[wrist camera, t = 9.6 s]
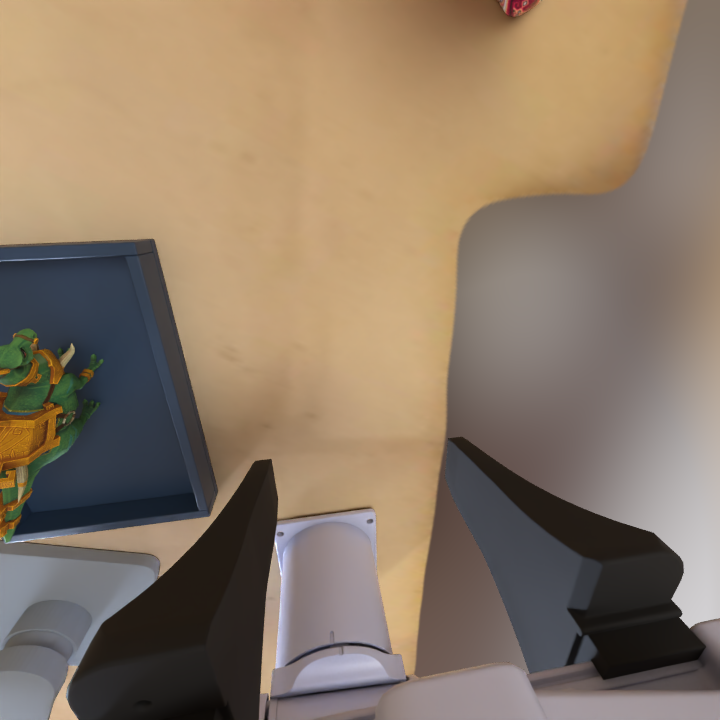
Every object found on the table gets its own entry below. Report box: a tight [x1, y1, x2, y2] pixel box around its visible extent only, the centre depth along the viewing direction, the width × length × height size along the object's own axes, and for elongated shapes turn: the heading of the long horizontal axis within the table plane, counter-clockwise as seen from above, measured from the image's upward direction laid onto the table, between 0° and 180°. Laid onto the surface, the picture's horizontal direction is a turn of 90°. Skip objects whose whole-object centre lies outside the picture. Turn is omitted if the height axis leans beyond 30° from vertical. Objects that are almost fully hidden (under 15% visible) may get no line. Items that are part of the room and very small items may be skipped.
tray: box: [0, 239, 218, 543], centre depth 19 cm, size 17×12×2 cm
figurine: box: [0, 329, 104, 543], centre depth 16 cm, size 3×12×8 cm, turn 157°
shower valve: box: [0, 540, 160, 720], centre depth 25 cm, size 12×6×15 cm
